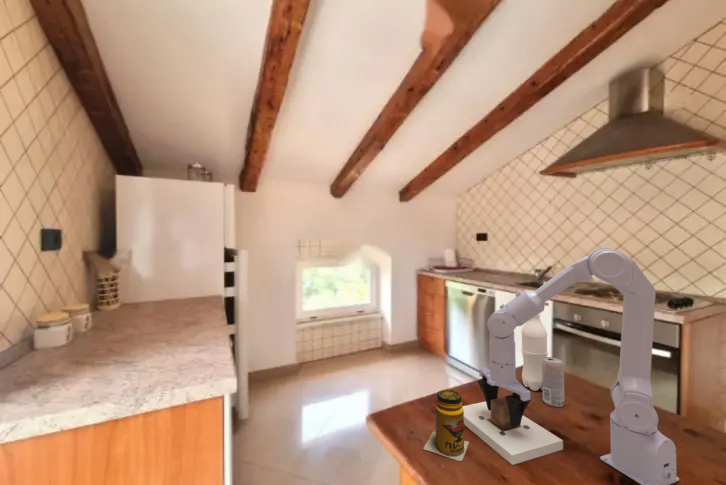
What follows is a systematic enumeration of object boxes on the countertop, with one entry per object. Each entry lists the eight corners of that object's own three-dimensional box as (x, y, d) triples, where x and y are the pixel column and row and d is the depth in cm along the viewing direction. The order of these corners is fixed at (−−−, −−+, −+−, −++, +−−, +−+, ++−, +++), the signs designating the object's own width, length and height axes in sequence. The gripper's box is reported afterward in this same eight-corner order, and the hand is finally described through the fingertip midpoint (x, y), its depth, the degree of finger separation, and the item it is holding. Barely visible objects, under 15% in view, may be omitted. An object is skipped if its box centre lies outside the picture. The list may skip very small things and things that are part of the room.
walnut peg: (516, 434, 77) (516, 404, 77) (503, 437, 75) (502, 407, 75) (504, 425, 81) (503, 397, 81) (491, 428, 79) (490, 399, 79)
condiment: (461, 462, 67) (461, 404, 67) (422, 449, 72) (422, 395, 72) (469, 442, 74) (468, 390, 74) (432, 432, 78) (432, 382, 78)
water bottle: (528, 380, 106) (527, 303, 106) (552, 387, 100) (550, 307, 100) (517, 387, 101) (516, 307, 101) (542, 395, 96) (541, 310, 96)
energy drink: (558, 398, 94) (557, 356, 94) (568, 407, 88) (567, 363, 88) (539, 397, 94) (538, 356, 94) (547, 407, 89) (547, 363, 89)
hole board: (562, 449, 71) (562, 439, 71) (512, 465, 66) (512, 453, 66) (497, 406, 90) (496, 397, 90) (454, 415, 85) (453, 407, 85)
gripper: (469, 353, 83) (470, 405, 83) (512, 374, 70) (513, 437, 70) (491, 349, 86) (492, 400, 86) (537, 369, 72) (538, 430, 72)
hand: (503, 417), depth 78 cm, fingers open, 7 cm apart
